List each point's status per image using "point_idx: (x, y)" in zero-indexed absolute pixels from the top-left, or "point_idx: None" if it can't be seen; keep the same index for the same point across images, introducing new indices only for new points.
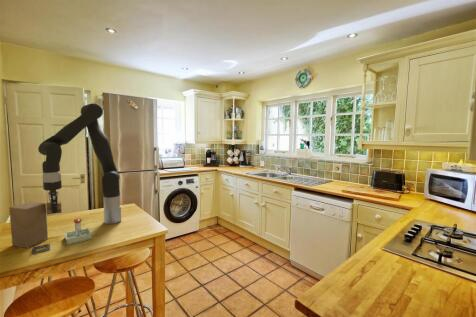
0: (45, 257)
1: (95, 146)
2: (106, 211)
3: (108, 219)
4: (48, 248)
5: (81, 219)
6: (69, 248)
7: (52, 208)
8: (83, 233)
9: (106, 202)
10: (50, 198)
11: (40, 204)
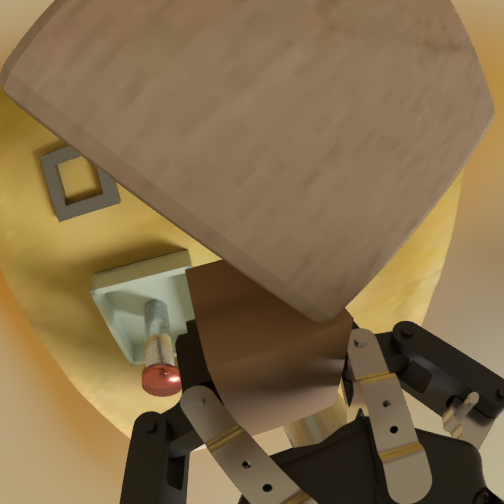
0: (3, 222)
1: None
2: None
3: None
4: (59, 215)
5: (164, 395)
6: (60, 291)
7: (196, 366)
8: None
9: (311, 443)
10: (243, 494)
11: (283, 286)
